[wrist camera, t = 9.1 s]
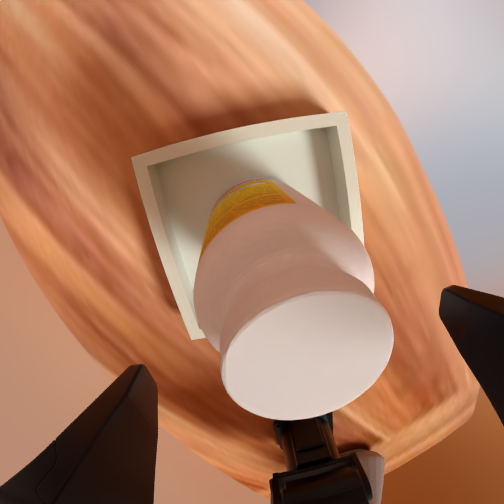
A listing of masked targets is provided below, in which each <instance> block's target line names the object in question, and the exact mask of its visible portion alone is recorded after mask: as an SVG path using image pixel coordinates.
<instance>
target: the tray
mask: <svg viewBox="0 0 504 504" xmlns="http://www.w3.org/2000/svg"><path fill="white" fill-rule="evenodd" d="M131 160H132V164H133V168H134V172H135V176H136V180H137V183H138V187H139V191H140V194H141V198H142V201H143V205H144V208H145V211H146V215H147V218H148V221H149V225H150V228H151V231H152V234H153V237H154V240H155V243H156V246H157V249H158V252H159V255H160V258H161V261H162V264H163V267H164V270H165V273H166V276H167V278H168V281H169V284H170V287H171V289H172V292H173V295H174V297H175V300H176V303H177V305H178V308H179V310H180V313H181V315H182V318H183V320H184V323H185V325H186V328H187V330H188V333H189V335H190V338H191V340H195V339H201V338H206V336H205V335H204V333H203V331H202V329H201V328H200V325H199V323H198V320H197V317H196V313H195V308H194V299H193V294H194V282H195V276H196V271H197V267H198V262H199V258H200V254H201V249H202V245H203V241H204V236H205V232H206V228H207V224H208V220H209V217H210V214H211V211H212V209H213V207H214V205H215V204H216V202H217V200H218V199H219V198H220V197H221V196H222V194H223V193H225V192H226V191H227V190H228V189H229V188H231V187H232V186H234V185H236V184H238V183H240V182H242V181H245V180H248V179H253V178H269V179H274V180H278V181H281V182H283V183H285V184H287V185H289V186H290V187H292V188H294V189H295V190H297V191H298V192H300V193H301V194H303V195H304V196H306V197H307V198H309V199H310V200H312V201H313V202H315V203H316V204H317V205H319V206H320V207H322V208H323V209H325V210H326V211H328V212H329V213H331V214H332V215H333V216H335V217H336V218H338V219H339V220H340V221H342V222H343V223H344V224H346V225H347V226H348V227H349V228H350V229H351V230H352V231H353V232H354V233H355V234H356V235H357V236H358V238H359V239H360V240H361V242H362V243H363V245H364V236H363V224H362V213H361V203H360V194H359V185H358V178H357V170H356V163H355V157H354V150H353V144H352V138H351V133H350V127H349V122H348V117H347V112H346V111H345V112H335V113H325V114H317V115H309V116H302V117H295V118H288V119H282V120H276V121H270V122H264V123H259V124H254V125H249V126H244V127H239V128H234V129H230V130H225V131H221V132H217V133H213V134H208V135H204V136H201V137H197V138H193V139H189V140H185V141H182V142H178V143H175V144H171V145H168V146H165V147H161V148H158V149H155V150H152V151H149V152H146V153H142V154H139V155H136V156H134V157H131Z"/></svg>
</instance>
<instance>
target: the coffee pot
mask: <svg viewBox="0 0 504 504" xmlns="http://www.w3.org/2000/svg"><path fill="white" fill-rule="evenodd" d="M353 452H355V453H356V455H357V457H358V459H359V461H360V463H361V465H362V467H363V469H364V471H365V473H366V475H367V477H368V480H369V482H370V485H371V489H372V495H373V499H372V501H369V504H381V496H382V488H383V478H384V467H385V460H384V457H383V456H381V455H380V454H378V453H377V452H373V451H367V450H366V449H354V450H350V451H346V452H343V453H341V454H339V455H340V457H343V456H347V455H350V453H353Z"/></svg>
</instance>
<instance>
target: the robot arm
mask: <svg viewBox="0 0 504 504" xmlns="http://www.w3.org/2000/svg"><path fill="white" fill-rule="evenodd" d="M439 316H440V318H441V320H442V322H443V324H444V325H445V327H446V329H447V331H448V332H449V334H450V336H451V338H452V340H453V341H454V343H455V345H456V347H457V349H458V350H459V352H460V354H461V355H462V357H463V359H464V360H465V362H466V363H467V365H468V366H469V368H470V369H471V371H472V372H473V374H474V376H475V377H476V379H477V380H478V382H479V384H480V385H481V387H482V388H483V390H484V392H485V393H486V395H487V397H488V399H489V400H490V402H491V404H492V406H493V407H494V409H495V411H496V413H497V414H498V416H499V418H500V420H501V422H502V424H503V426H504V298H503V297H499V296H495V295H492V294H488V293H484V292H480V291H476V290H472V289H468V288H464V287H460V286H456V285H451V286H449V287H446V288H444V289H443V290H442V293H441V300H440V306H439ZM273 426H274V429H275V432H276V435H277V439H278V442H279V445H280V448H281V449H283V451H284V457H285V462H286V467H287V472H282V473H273V478H272V479H271V480H269V482H270V489H271V504H369V501H372V499H373V495H372V489H371V485H370V482H369V480H368V477H367V475H366V473H365V471H364V469H363V467H362V465H361V463H360V461H359V459H358V457H357V455H356V453H355V452H353V453H350V455H347V456H343V457H340V455H339V452H338V449H337V446H336V443H335V440H334V437H333V416H332V412H329V413H327V414H324V415H321V416H317V417H312V418H307V419H299V420H279V421H275V422H274V423H273ZM157 439H158V390H157V385H156V383H155V381H154V379H153V378H152V376H151V374H150V373H149V371H148V369H147V367H146V366H145V365H143V364H137V365H131V366H129V367H128V368H127V369H126V370H125V371H124V372H123V373H122V374H121V375H120V376H119V377H118V378H117V379H116V380H115V381H114V382H113V383H112V384H111V385H110V386H109V387H108V388H107V389H106V390H105V391H104V392H103V393H102V394H101V395H100V396H99V397H98V398H97V399H96V400H95V401H94V402H93V403H92V404H91V405H89V407H87V408H86V409H85V410H84V411H83V412H82V413H81V414H80V415H79V416H78V417H77V418H76V419H75V420H74V421H73V422H72V423H71V424H70V425H69V426H68V427H67V428H66V429H65V430H64V431H63V432H62V433H61V434H60V435H59V436H58V437H57V438H56V440H54V441H53V442H52V443H51V444H50V445H49V446H48V447H47V448H46V449H45V450H44V451H43V452H42V453H40V454H39V455H38V456H37V457H36V458H35V459H34V460H33V461H31V462H30V463H29V464H28V465H27V466H26V467H24V468H23V469H22V470H21V471H19V472H18V473H17V474H16V475H15V476H13V477H12V478H11V479H9V480H8V481H7V482H6V483H4V484H3V485H2V486H0V504H153V503H154V481H155V465H156V452H157Z"/></svg>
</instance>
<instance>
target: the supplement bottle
mask: <svg viewBox="0 0 504 504" xmlns="http://www.w3.org/2000/svg"><path fill="white" fill-rule="evenodd" d="M193 299H194V308H195V313H196V317H197V320H198V323H199V325H200V328H201V329H202V331H203V333H204V335H205V336H206V338H207V339H208V341H209V342H210V343H211V345H212V346H213V347H214V348H215V349H216V350H217V351H218V352H219V353H220V373H221V379H222V382H223V385H224V387H225V389H226V391H227V393H228V394H229V396H230V397H231V398H232V399H233V400H234V401H235V402H236V403H237V404H238V405H239V406H241V407H242V408H244V409H245V410H247V411H249V412H251V413H254V414H256V415H259V416H261V417H265V418H270V419H277V420H299V419H307V418H312V417H317V416H321V415H324V414H327V413H329V412H332V411H334V410H337V409H339V408H341V407H343V406H345V405H346V404H348V403H350V402H351V401H353V400H355V399H356V398H357V397H359V396H360V395H361V394H363V393H364V392H365V391H366V390H367V389H368V388H369V387H371V385H372V384H373V383H374V382H375V381H376V380H377V379H378V377H379V376H380V375H381V373H382V372H383V370H384V368H385V367H386V365H387V363H388V361H389V358H390V355H391V352H392V348H393V340H394V334H393V326H392V323H391V319H390V317H389V315H388V313H387V311H386V310H385V309H384V307H383V306H382V305H381V303H380V302H379V301H378V300H377V298H376V297H375V296H374V273H373V268H372V264H371V261H370V258H369V255H368V253H367V251H366V249H365V247H364V245H363V243H362V242H361V240H360V239H359V238H358V236H357V235H356V234H355V233H354V232H353V231H352V230H351V229H350V228H349V227H348V226H347V225H346V224H344V223H343V222H342V221H340V220H339V219H338V218H336V217H335V216H333V215H332V214H331V213H329V212H328V211H326V210H325V209H323V208H322V207H320V206H319V205H317V204H316V203H315V202H313V201H312V200H310V199H309V198H307V197H306V196H304V195H303V194H301V193H300V192H298V191H297V190H295V189H294V188H292V187H290V186H289V185H287V184H285V183H283V182H281V181H278V180H274V179H269V178H253V179H248V180H245V181H242V182H240V183H238V184H236V185H234V186H232V187H231V188H229V189H228V190H227V191H226V192H225V193H223V194H222V196H221V197H220V198H219V199H218V200H217V202H216V204H215V205H214V207H213V209H212V211H211V214H210V217H209V220H208V224H207V228H206V232H205V236H204V241H203V245H202V249H201V254H200V258H199V262H198V267H197V271H196V276H195V282H194V294H193Z"/></svg>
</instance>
